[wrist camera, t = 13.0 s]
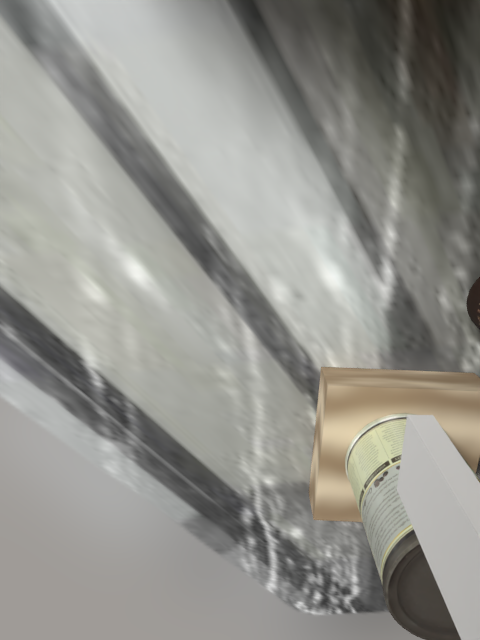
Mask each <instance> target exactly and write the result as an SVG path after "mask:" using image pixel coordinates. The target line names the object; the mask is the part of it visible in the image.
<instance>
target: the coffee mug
mask: <svg viewBox="0 0 480 640" xmlns="http://www.w3.org/2000/svg"><path fill="white" fill-rule="evenodd" d="M467 311H468V314H469V316H470V318H471V320H472V321H473V322H474V323H475V324H476V325H477V326H478V327H479V329H480V277H479V278H478V279H477V280H476V282H475V283H474V284H473V286H472V287H471V289H470V291H469V294H468V298H467Z"/></svg>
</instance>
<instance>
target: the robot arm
mask: <svg viewBox="0 0 480 640" xmlns="http://www.w3.org/2000/svg"><path fill="white" fill-rule="evenodd" d="M397 491H398V494H399V496H400V498H401V501H402V503H403V505H404V508H405V510H406V512H407V515H408V517H409V519H410V522H411V524H412V526H413V529H414V531H415V533H416V536H417V538H418V540H419V543H420V545H421V547H422V550H423V552H424V554H425V557H426V559H427V561H428V564H429V566H430V568H431V571H432V573H433V575H434V578H435V580H436V582H437V585H438V587H439V589H440V592H441V594H442V596H443V599H444V601H445V603H446V606H447V608H448V610H449V613H450V615H451V617H452V620H453V622H454V624H455V627H456V629H457V631H458V633H459V636H460V638H461V640H480V482H479V481H478V479H477V478H476V477H475V475H474V474H473V472H472V471H471V469H470V468H469V466H468V465H467V463H466V462H465V461H464V459H463V458H462V456H461V455H460V453H459V452H458V450H457V449H456V448H455V446H454V445H453V443H452V442H451V440H450V439H449V437H448V436H447V434H446V433H445V432H444V430H443V429H442V427H441V426H440V424H439V423H438V421H437V420H436V419H435V417H434V416H433V415H407V420H406V427H405V434H404V441H403V448H402V456H401V463H400V470H399V477H398V484H397Z"/></svg>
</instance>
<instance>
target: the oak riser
mask: <svg viewBox="0 0 480 640" xmlns="http://www.w3.org/2000/svg"><path fill="white" fill-rule="evenodd" d="M400 413H409V414H416V415H433V416H434V417H435V419H436V420H437V421H438V423H439V424H440V426H441V427H442V428H443V429H444V431H445V432H446V433H447V434H448V436H449V438H450V440H451V442H452V443H453V444H454V446H455V447H456V448H457V450H458V451H459V452H460V454H461V455H462V456H463V458H464V459H465V460H466V462H467V463H468V465H469V466H470V467H471V469H472V470H473V471H474V472H475V474H476V470H477V466H478V462H479V457H480V378H479V377H478V376H477V375H476V374H475V373H461V372H435V371H410V370H384V369H359V368H333V367H321V375H320V385H319V395H318V405H317V415H316V425H315V435H314V445H313V456H312V466H311V476H310V486H309V497H310V502H311V508H312V513H313V519H314V520H328V521H352V522H362V519H361V515H360V512H359V509H358V506H357V503H356V499H355V496H354V493H353V490H352V487H351V484H350V481H349V480H348V477H347V474H346V469H345V457H346V453H347V450H348V447H349V445H350V443H351V441H352V440H353V438H354V437H355V435H356V434H357V433H358V432H359V431H360V430H362V429H363V428H364V427H365V426H366V425H367V424H369V423H371V422H373V421H374V420H377V419H379V418H381V417H384V416H387V415H392V414H400Z"/></svg>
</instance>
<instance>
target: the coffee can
mask: <svg viewBox="0 0 480 640" xmlns="http://www.w3.org/2000/svg"><path fill="white" fill-rule="evenodd" d="M407 415H416V414H409V413H400V414H392V415H387V416H384V417H381V418H379V419H377V420H374V421H373V422H371V423H369V424H367V425H366V426H365V427H364V428H363V429H362V430H360V431H359V432H358V433H357V434H356V435H355V437H354V438H353V440H352V441H351V443H350V445H349V447H348V450H347V453H346V457H345V469H346V474H347V477H348V480H349V481H350V484H351V487H352V490H353V493H354V496H355V499H356V503H357V506H358V509H359V512H360V515H361V519H362V522H363V525H364V528H365V531H366V534H367V538H368V541H369V544H370V547H371V550H372V553H373V556H374V560H375V563H376V566H377V569H378V572H379V575H380V578H381V581H382V585H383V594H384V598H385V601H386V605H387V607H388V610H389V612H390V613H391V615H392V616H393V618H394V619H395V620H396V621H397V622H398V624H400V625H401V626H402V627H403V628H404V629H406V630H408V631H409V632H410V633H412V634H414V635H416V636H417V637H420V638H422V639H426V640H461V638H460V636H459V633H458V631H457V629H456V627H455V624H454V622H453V620H452V617H451V615H450V613H449V610H448V608H447V606H446V603H445V601H444V599H443V596H442V594H441V592H440V589H439V587H438V585H437V582H436V580H435V578H434V575H433V573H432V571H431V568H430V566H429V564H428V561H427V559H426V557H425V554H424V552H423V550H422V547H421V545H420V543H419V540H418V538H417V536H416V533H415V531H414V529H413V526H412V524H411V522H410V519H409V517H408V515H407V512H406V510H405V508H404V505H403V503H402V501H401V498H400V496H399V494H398V491H397V484H398V477H399V470H400V463H401V456H402V448H403V441H404V434H405V427H406V420H407ZM442 429H443V428H442ZM443 430H444V429H443ZM444 432H445V431H444ZM445 433H446V432H445ZM446 434H447V433H446ZM447 436H448V434H447ZM448 437H449V436H448ZM449 439H450V438H449ZM453 445H454V444H453ZM455 448H456V447H455ZM456 449H457V448H456ZM458 452H459V451H458ZM459 453H460V452H459ZM460 455H461V454H460ZM461 456H462V455H461ZM462 458H463V456H462ZM463 459H464V458H463ZM464 461H465V462H466V460H465V459H464ZM466 463H467V462H466ZM467 465H468V463H467ZM468 466H469V465H468ZM469 468H470V469H471V467H470V466H469ZM471 471H472V472H473V474H474V475H475V477H476V478H477V479H478V481H479V482H480V479H479V478H478V477H477V475H476V474H475V472H474V471H473V470H472V469H471Z"/></svg>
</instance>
